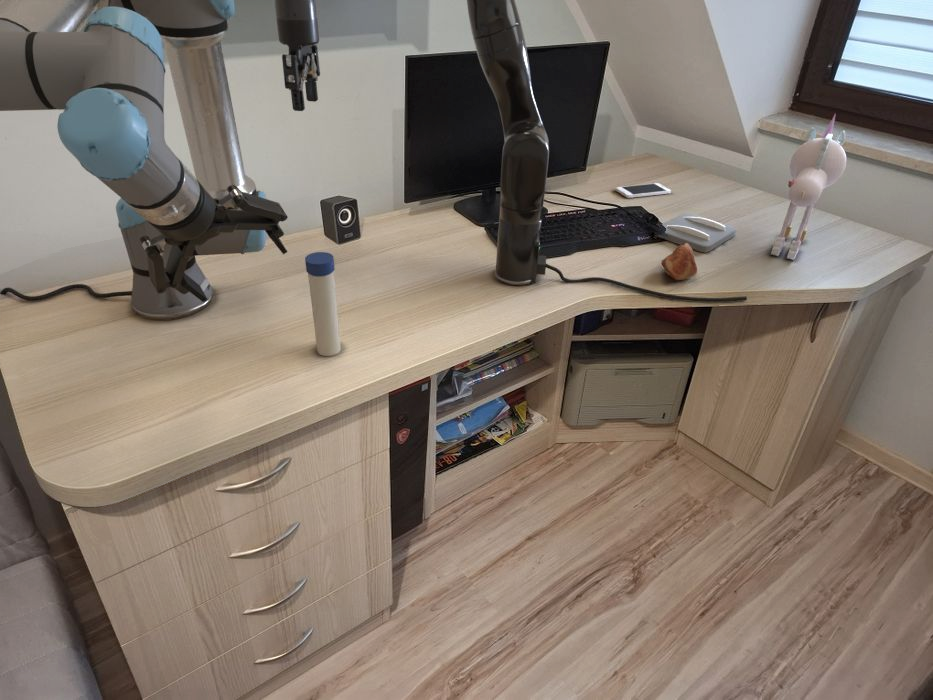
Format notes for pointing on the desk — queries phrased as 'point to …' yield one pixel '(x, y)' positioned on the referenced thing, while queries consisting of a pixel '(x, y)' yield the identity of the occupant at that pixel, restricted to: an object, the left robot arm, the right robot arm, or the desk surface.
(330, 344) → the bottle
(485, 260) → the desk surface
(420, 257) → the desk surface
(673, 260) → the brown lumpy piece
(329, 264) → the lid
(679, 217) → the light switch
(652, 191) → the smartphone
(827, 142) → the toy
